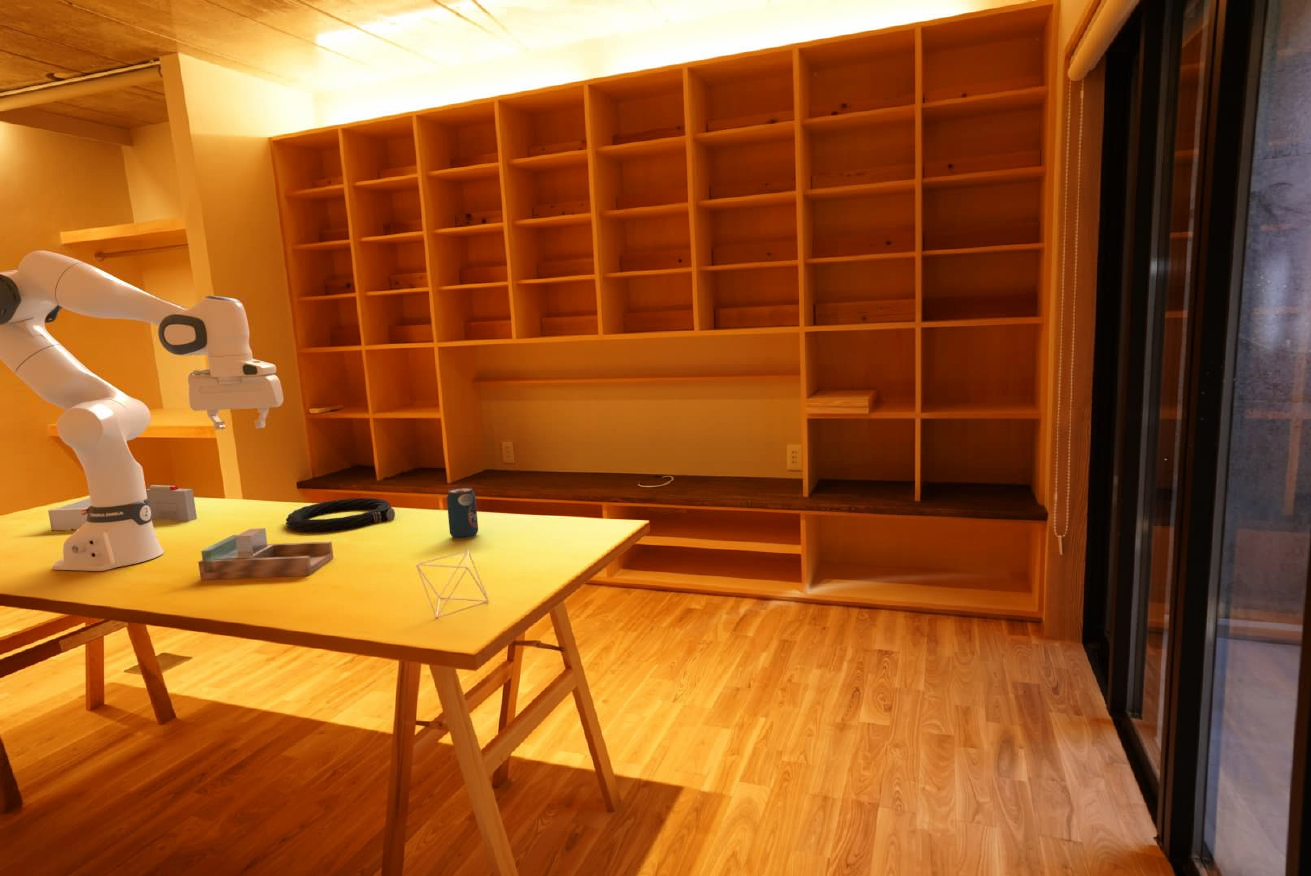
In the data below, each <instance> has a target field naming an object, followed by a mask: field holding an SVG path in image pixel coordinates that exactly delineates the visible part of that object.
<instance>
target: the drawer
mask: <svg viewBox="0 0 1311 876" xmlns="http://www.w3.org/2000/svg"><path fill="white" fill-rule="evenodd" d="M237 535H238V534H233V535H230V536H228V537H226V538H224V539H223V540H220V541H218V542H216V543H214V544H212V545H210V546H208V547H206V548H203V549H202V550H201V551H200V553H201V558H202V560H199V561H198V562H197V563H198V568H199V575H200V576H199V577H200V581H201V580H203V581H204V580H223V579H224V580H226V579H229V580H231V579H253V578H255V579H256V578H275V577H276V578H277V577H279V578H281V577H301V576H302V577H303V576H304V577H305V576H307V577H308V576H311V575H312V574H314V573H315V572H316V571H318V570H319V569H320V568H322V567H323V566H325V564H328V562H330V561H331V560H333V559H334V552H333V543H332V541H312V542H311V541H310V542H290V543H289V542H288V543H286V542H283V543H267V545H273V547H274V554H275V556H273V557H272V558H248V559H223V560H216V559H217V558H219V557H221V556H223V555H224V554H226V553H228V552H230V551H232V550H234V549H236V548H237V546H236V539H235V536H237Z"/></svg>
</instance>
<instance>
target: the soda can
mask: <svg viewBox="0 0 1311 876" xmlns="http://www.w3.org/2000/svg"><path fill="white" fill-rule="evenodd" d="M476 499H477V498H476V494H475V492H474V491H473V487H470V486H459V487H454V488H451V489H449V490H448V494H447V495H446V503H447V505H446V506H447V516H448V518H447V519H448V527H449V529H448V531H449V534H450V536H451V537H452V539H454V540H458V541H459V540H469V539H472V538H475V537H476V536H477V534H478V532H479V523H478V512H477V500H476Z"/></svg>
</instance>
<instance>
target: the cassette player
mask: <svg viewBox="0 0 1311 876" xmlns="http://www.w3.org/2000/svg"><path fill="white" fill-rule="evenodd" d="M146 493H147V497H148V498H149V499H150V504H151V510H152V520H154V521H155V520H157V521H175V522H177V521H178V522H191V521H194V520H197V519H198V516H197V512H196V511H197V510H196V509H197V508H196V503H195V496H194V489H193V488H179V487H178V485H159V484H158V485H157V484H155V485H154V484H151V485H149V488H147V489H146Z"/></svg>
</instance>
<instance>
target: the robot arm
mask: <svg viewBox="0 0 1311 876" xmlns="http://www.w3.org/2000/svg"><path fill="white" fill-rule="evenodd" d="M62 309H64V310H67V311H71V312H72V313H76V314H79V315H82V316H87V317H91V318H96V319H108V320H109V319H113V320H119V319H120V320H132V321H133V320H134V321H139V322H144V323H145V322H146V323H149V324H152V325H154V326H157V327H158V330H157V331H158V332H157V335H158V339H159V342H160V344H161V346H162V347H163V348H164V349H165V350H166V351H167V352H168V353H170V354H173V355H177V356H182V357H187V356H188V357H190V356H203V355H207V358H208V360H207V361H208V367H209V369H195V370H193V371H192V372H190V374H189V375H188V376H187V382H188V383H187V384H188V387H189V388H188V400H189V407H190V408H191V409H192V410H193V412H198V411H199V412H202V411H203V412H204V411H206V413H207V417H208V418H209V419H210V421H212V423H213V426H214V430H216V431H217V430H218V431H219V430H220V431H221V430H224V429H226V425H225V424H226V423H225V420H224V421H222V420H221V419H220V417H219V413H220V412H219V411H223V410H224V411H225V410H226V411H227V410H241V409H243V410H244V409H257V413H258V414H259V415H258V418H257V420H256V419H255V420H254V424H255V425H254V427H255V428H256V429H262V428H265V427H266V418H267V417H268V414H269V411H270V410H269V408H278V407H280V406H282V404H283V402H284V393H283V388H282V383H281V380H280V379H279V377H278V376H277V375H276V374H275V373H277V367H276V365H275V364H273V363H271V362H268V361H267V362H266V361H262V360H259V359H256V358H254V357H253V351H252V349H251V347H250V336H251V335H250V334H251V333H250V327H249V322H248V317H247V313H246V310H245V307H244V305H243V303H242V302H241V301H240V300H239V299H236V298H233V297H227V296H218V295H207V296H204V297H203V298H202V299H201V300H200V301H199V302H198V303H196V304H194V305H193V306H191V307H189V308H187V307H185V306H182V305H179V304H177V303H174V302H171V301H169V300H166V299H163V298H161V297H159V296H156V295H153V294H151V293H148V292H145V291H144V290H142V289H140V288H138V287H136V286H134V285H132V284H130V283H127V282H125V281H123V280H121V279H119V278H118V277H117V276H113V275H112V274H111V273H110V274H109V273H108V272H106V271H104V270H102V269H99V268H97V267H96V266H94V265H91V264H89V263H86V262H84V261H81V260H79V259H76V258H74V257H70V256H67V255H64V254H61V253H56V252H52V251H48V250H34V251H31V252H29V253H28V254H26V255H25V256H24V257H23V258H22V259H21V261H20V263H19V265H18V269H13V270H12V269H11V270H4V271H0V360H1V361H2V363H3V364H5V365H6V366H7V368H9V370H10V371H11V372H12V373H13V374H14V375H15V376H16V377H18V379H19V380H20V381H22V383H23V382H24V384H25V385H27V387H29V388H30V389H31V390H32V391H33V392H34V393H36V395H37V396H39V397H40V399H42V400H44V401H45V402H47V403H48V404H52V405H55V406H56V407H60V408H61V409H63V410H65V411H64V412H62V413H61V415H60V416H59V418H58V419H57V421H56V422H57V423H56V431H57V434H58V437H59V438H60V439H61V441H62V442H63V443H64V444H65V445H67V446H68V447H70V448H71V449H72V451H73V452H74V453H75V455H76V458H77V459H78V461H79V463H80V464H81V466H82V469H83V472H84V474H85V477H86V478H85V479H86V483H87V487H88V494H89V498H90V499H91V506H90V507H88V509H85V510H82V511H85V512H84V513H82V514H81V515H85V514H88V515H87V519H86V521H87V522H86V523H85V524H83V525H82V526H81V527H80V528H79V529H78V530H75V531H74V532H73V533H72V534H71V535H69V536H68V537H67V538H66V539H65V541H64V543H63V547H62V548H63V549H62V556H63V558H61V559H59V560H57V561H56V562H55V563H53V564H52V570H53V571H55V570H59V571H60V570H61V571H83V572H84V571H87V572H89V571H91V572H94V571H95V572H102V571H103V572H104V571H109V570H112V569H115V568H116V569H117V568H118V567H124V566H131V565H134V564H139V563H142V562H147V561H150V560H152V559H155V558H157V557H158V558H159V556H160V557H161V556H162V555H163V554H164V553H165V550H164V549H163V548H162V545H161V544H160V541H159V539H158V536H157V534H156V531H155V528H154V527H155V526H154V523H153V519H152V510H151V504H150V499H149V498H148V497H147V493H146V488H147V487H146V482H145V475H144V469H143V466H142V465H141V464H140V463H139V462H138V461H137V460H136V459H135V458H134V456H133V454H132V452H131V450H130V447H129V445H128V443H127V442H128V441H132V440H134V439H136V438H137V437H138V436H139V437H140V435H141V434H143V433H144V432H145V431H146V430H147V429H148V428H149V426H150V424H151V420H152V418H151V417H152V415H151V412H150V408H148V406H147V405H146V404H145V403H144V402H142V400H139V399H137V398H134V397H133V396H132V397H131V396H130V395H129V394H128V395H127V394H126V393H124V392H123V391H121V390H119V389H118V388H117V387H115V386H114V385H112V384H110V383H109V382H107V381H106V380H104V379H103V378H101V377H100V376H98V375H96V373H93V372H92V371H91V370H89V368H87V367H86V366H85V365H84V364H83V363H81V361H79V360H78V359H77V358H76V357H75V355H73V354H72V353H71V352H70V351H69V350H68V349H66V348H65V347H64V346H63V345H62V344H61V342H59V341H58V340H57V339H55V338H54V337H53V336H52V335H51V334H50V333H49V332H48V330H47V329H46V325H45V324H50V323H53V322H55V320H56V319H57V317H58V315H59V312H60V311H62ZM82 511H81V512H82Z"/></svg>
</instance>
